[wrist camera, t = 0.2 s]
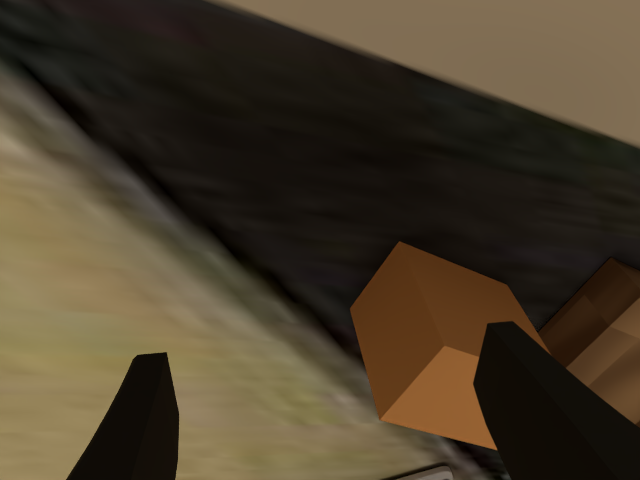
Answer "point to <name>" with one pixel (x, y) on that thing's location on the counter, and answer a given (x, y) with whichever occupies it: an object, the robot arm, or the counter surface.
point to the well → (602, 336)
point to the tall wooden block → (430, 341)
